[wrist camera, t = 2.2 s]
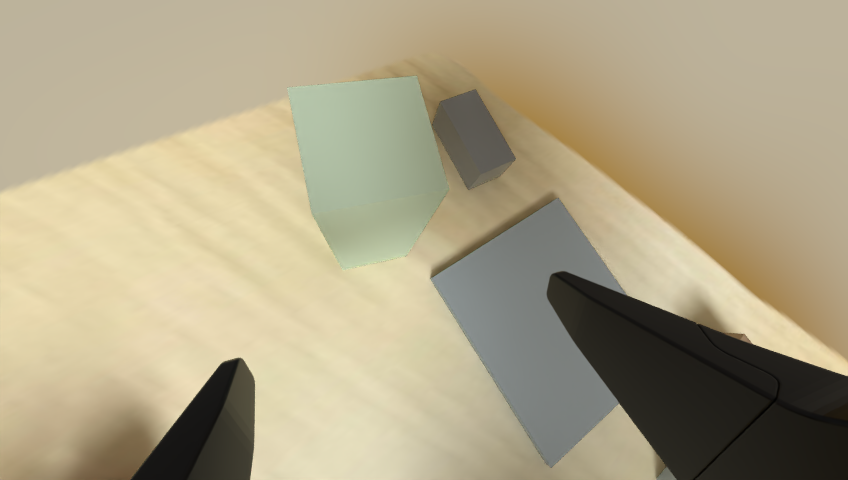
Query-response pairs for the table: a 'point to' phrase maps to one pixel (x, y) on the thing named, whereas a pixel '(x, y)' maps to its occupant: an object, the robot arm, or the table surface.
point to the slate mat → (532, 326)
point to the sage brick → (368, 165)
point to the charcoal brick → (472, 139)
